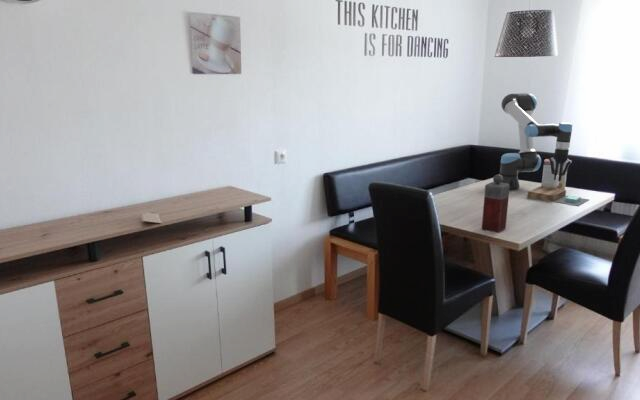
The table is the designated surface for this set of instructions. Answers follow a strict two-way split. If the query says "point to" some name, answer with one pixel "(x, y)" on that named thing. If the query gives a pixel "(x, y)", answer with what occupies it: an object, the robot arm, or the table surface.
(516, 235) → the table surface
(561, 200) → the mat
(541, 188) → the deck
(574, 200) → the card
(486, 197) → the red square decanter
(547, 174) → the cracker box
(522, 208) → the table surface
